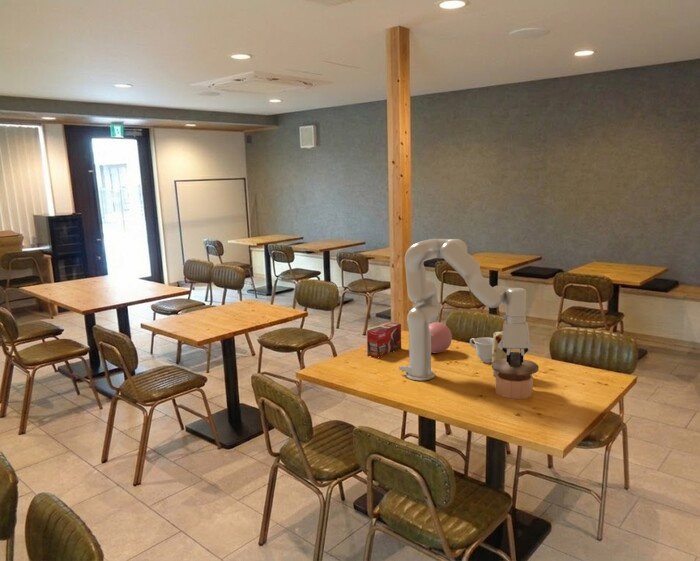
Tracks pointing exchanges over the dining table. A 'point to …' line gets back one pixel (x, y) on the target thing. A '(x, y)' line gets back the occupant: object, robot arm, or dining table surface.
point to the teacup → (483, 348)
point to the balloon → (439, 337)
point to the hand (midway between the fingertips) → (514, 363)
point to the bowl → (514, 385)
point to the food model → (497, 349)
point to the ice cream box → (383, 339)
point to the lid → (515, 366)
